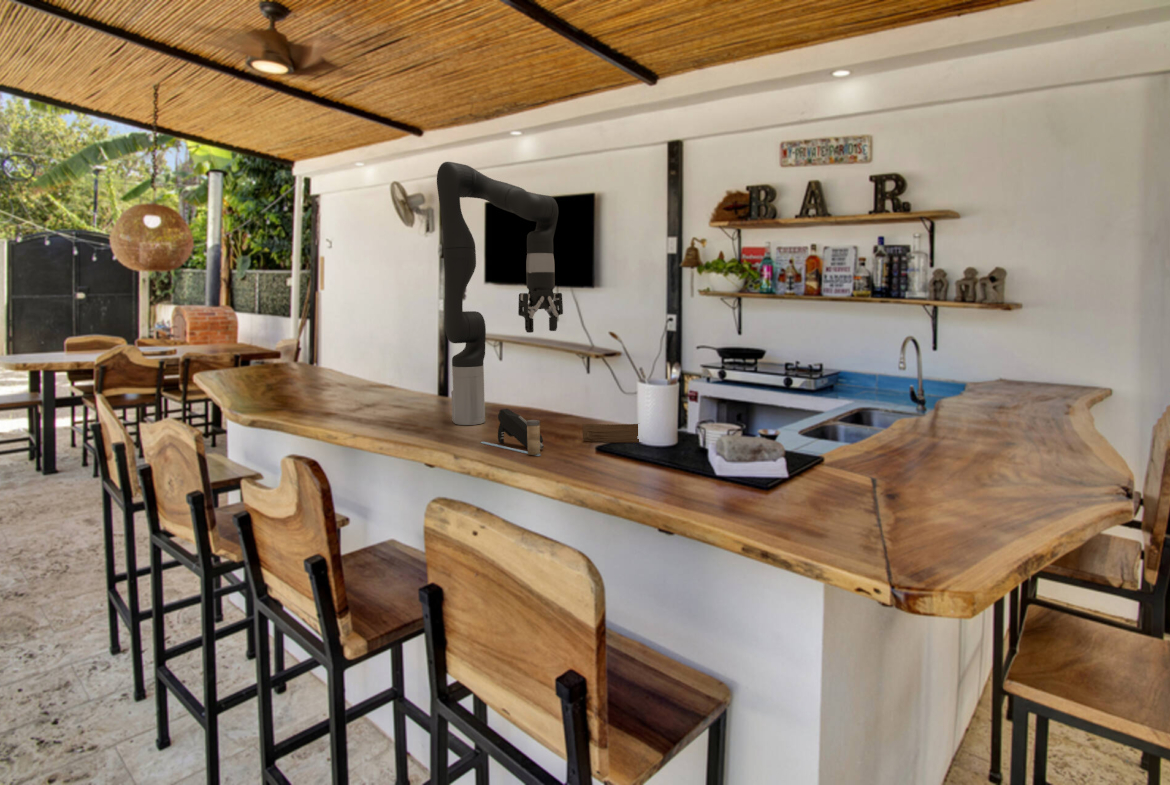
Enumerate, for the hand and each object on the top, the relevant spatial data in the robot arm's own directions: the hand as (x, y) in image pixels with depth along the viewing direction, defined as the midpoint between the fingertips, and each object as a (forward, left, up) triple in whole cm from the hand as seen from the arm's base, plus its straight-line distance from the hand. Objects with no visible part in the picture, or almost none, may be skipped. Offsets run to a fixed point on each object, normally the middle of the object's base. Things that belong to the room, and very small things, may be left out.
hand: (541, 331), depth 187 cm
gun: (+8, -15, -28) cm, 33 cm away
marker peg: (+17, -19, -28) cm, 38 cm away
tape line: (+8, -19, -28) cm, 35 cm away
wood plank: (+22, +4, -28) cm, 36 cm away
